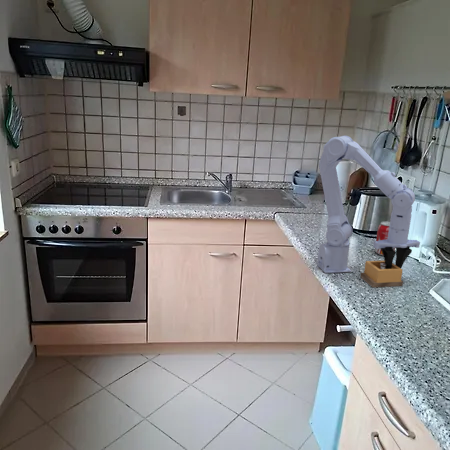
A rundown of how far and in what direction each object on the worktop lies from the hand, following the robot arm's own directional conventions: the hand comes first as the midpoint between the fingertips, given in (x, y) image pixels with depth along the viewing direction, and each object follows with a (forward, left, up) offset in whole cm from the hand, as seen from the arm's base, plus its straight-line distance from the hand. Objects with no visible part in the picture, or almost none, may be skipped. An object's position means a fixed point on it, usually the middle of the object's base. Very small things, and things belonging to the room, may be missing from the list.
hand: (392, 269), depth 132 cm
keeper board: (-4, 0, -4) cm, 5 cm away
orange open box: (-3, 0, -3) cm, 4 cm away
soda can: (+11, +24, -4) cm, 27 cm away
